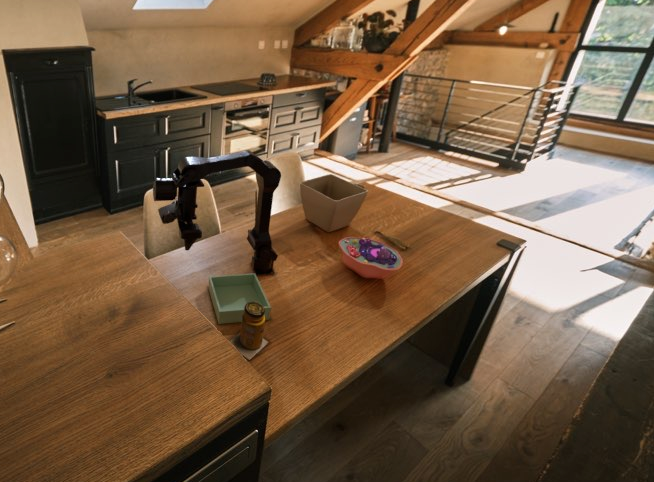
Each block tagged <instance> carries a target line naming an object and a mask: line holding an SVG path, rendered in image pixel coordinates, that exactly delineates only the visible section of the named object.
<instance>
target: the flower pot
mask: <svg viewBox="0 0 654 482" xmlns="http://www.w3.org/2000/svg"><path fill="white" fill-rule="evenodd" d="M299 192H300V199H301V205H302V210H303V213H304V217H305V219H306V221H309V222H310V223H312V224H313V225H315V226H317V227H318V228H319V229H321V230H323V231H324V232H326V233H331V232H333V231H334V232H335V231H337V230H340V229H342V228H345V227H348V226H350V224H351V223H352V222H353V221H354V219H355V218H356V216H357V214H358V213H359V211H360V210H361V208H362V205H363V204H364V203H365V202H364V201H365V200H366V197H367V196H368V193H369V190H368V189H366V188H364V187H362V186H360V185H357V184H355V183H353V182H350V181H348V180H346V179H344V178H341V177H339V176H337V175H334V174H331V173H329V174H324V175H322V176H321V175H320V176H318V177H314V178H311V179H306V180H304V181H300V182H299Z"/></svg>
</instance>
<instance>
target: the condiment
mask: <svg viewBox="0 0 654 482" xmlns="http://www.w3.org/2000/svg"><path fill="white" fill-rule="evenodd" d="M264 313H265V309H264V307H263V306H262V305H261V304H260V303H258V302H248V303H247V304H246V305H245V307H244V312H243V314H242V321H241V322H240V332H239V333H238V334H236V335H235V336H234V337H233V338H232V339H230V340H229V341H230V342H231V343H232V344H233V345H234V346H235V347H236V348H237V349H238V350H239V352H238V353H239V354H240V355H242V356H243V357H244V358H246V359H247V360H248V361H250V360H251V359H252V358H254V357H255V355H256V354H258V353H259V352H260V351H262V349H263V348H264V347H265V346H267V345H268V344H269V341H268V340H266V339H265V338H264V333H265V323H266V320H265V316H264Z"/></svg>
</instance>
